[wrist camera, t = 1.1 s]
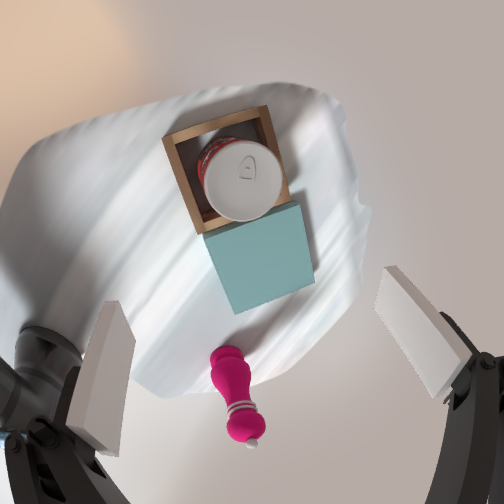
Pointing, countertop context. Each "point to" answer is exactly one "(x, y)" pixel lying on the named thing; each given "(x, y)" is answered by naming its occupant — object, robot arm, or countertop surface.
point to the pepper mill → (237, 395)
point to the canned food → (239, 177)
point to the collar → (257, 114)
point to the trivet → (262, 257)
